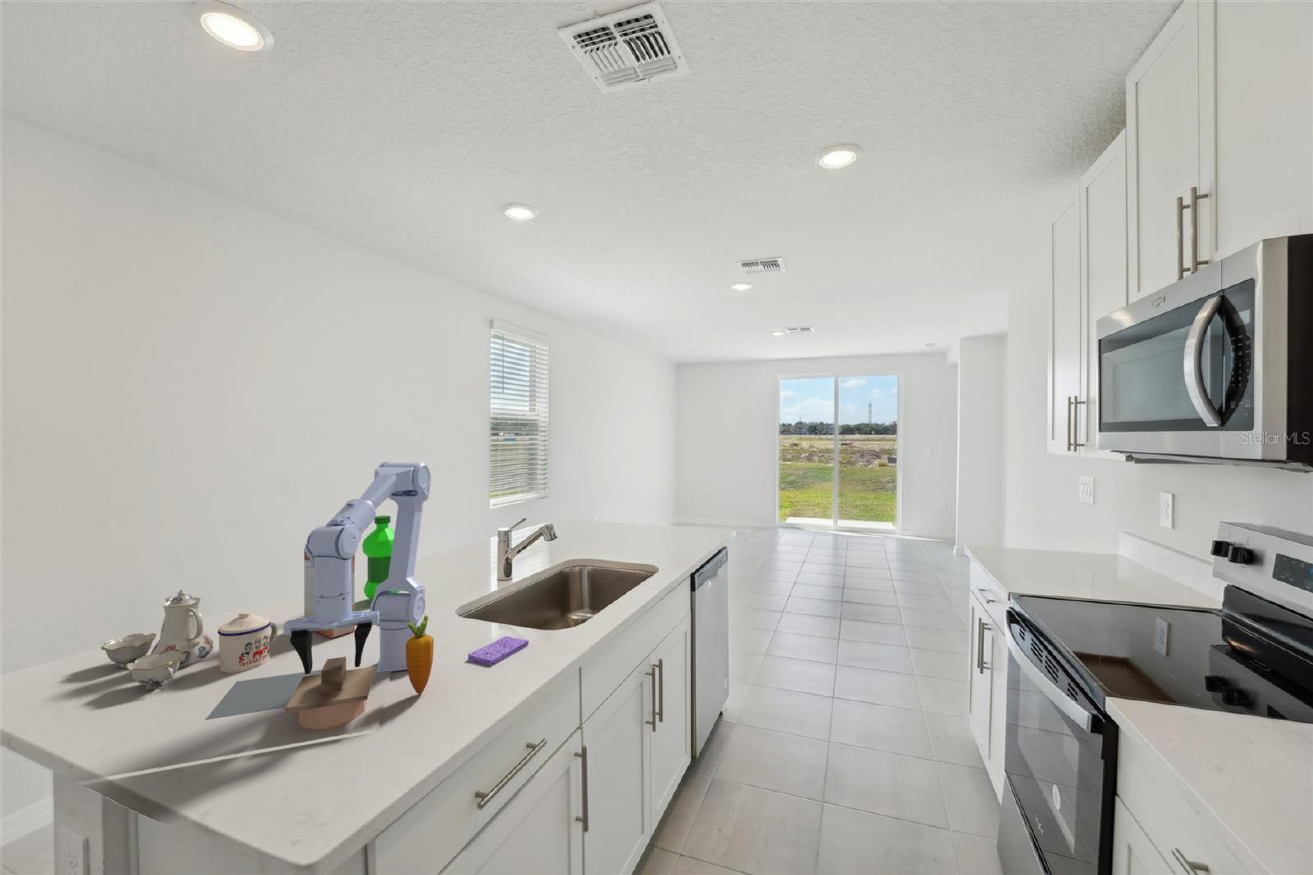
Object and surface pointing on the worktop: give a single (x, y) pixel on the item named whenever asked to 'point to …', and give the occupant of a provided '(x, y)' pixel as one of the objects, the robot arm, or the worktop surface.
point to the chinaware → (164, 644)
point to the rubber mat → (259, 695)
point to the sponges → (497, 650)
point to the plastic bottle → (378, 554)
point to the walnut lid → (332, 686)
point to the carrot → (419, 656)
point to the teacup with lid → (245, 643)
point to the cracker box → (310, 597)
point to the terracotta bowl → (331, 715)
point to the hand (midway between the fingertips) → (333, 668)
